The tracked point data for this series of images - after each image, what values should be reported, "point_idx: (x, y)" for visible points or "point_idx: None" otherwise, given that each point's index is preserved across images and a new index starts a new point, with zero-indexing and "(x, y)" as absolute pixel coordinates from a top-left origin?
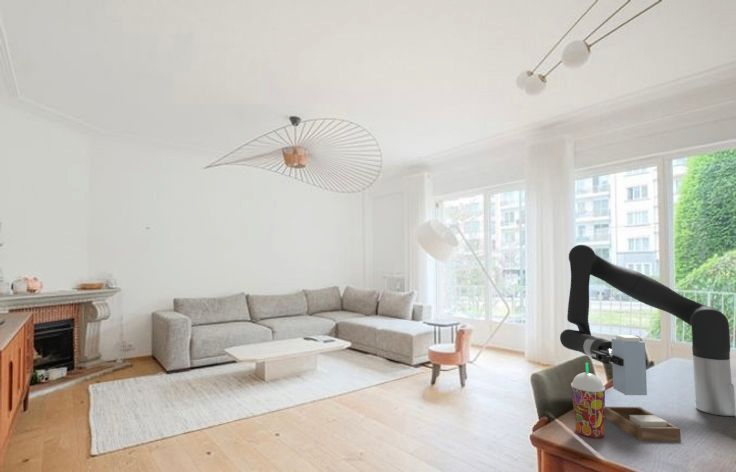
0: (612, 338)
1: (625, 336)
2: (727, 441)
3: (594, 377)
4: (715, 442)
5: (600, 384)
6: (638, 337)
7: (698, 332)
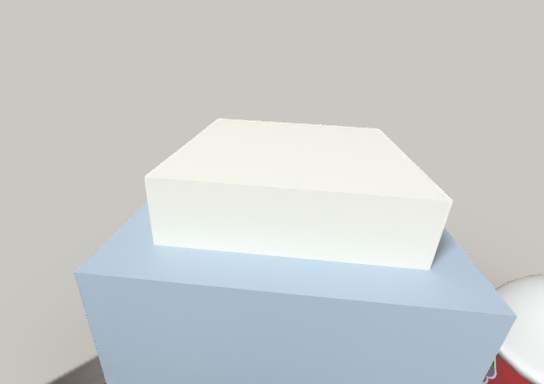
0: (493, 293)
1: (339, 141)
2: (58, 381)
3: (542, 275)
4: (102, 378)
5: (504, 284)
6: (227, 120)
7: None
